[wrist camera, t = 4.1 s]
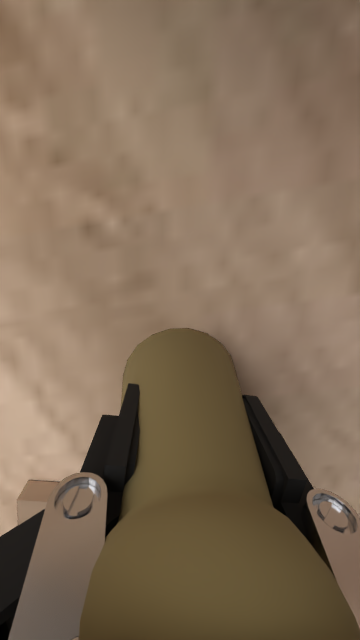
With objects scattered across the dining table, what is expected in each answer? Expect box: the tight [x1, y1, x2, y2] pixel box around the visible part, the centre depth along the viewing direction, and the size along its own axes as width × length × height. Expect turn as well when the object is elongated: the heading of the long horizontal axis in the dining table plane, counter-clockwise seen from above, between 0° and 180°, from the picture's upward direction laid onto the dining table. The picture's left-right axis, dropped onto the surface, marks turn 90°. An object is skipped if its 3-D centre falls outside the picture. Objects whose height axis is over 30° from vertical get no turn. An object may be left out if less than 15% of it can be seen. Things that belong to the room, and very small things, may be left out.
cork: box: [79, 328, 360, 640], centre depth 8 cm, size 6×6×11 cm
